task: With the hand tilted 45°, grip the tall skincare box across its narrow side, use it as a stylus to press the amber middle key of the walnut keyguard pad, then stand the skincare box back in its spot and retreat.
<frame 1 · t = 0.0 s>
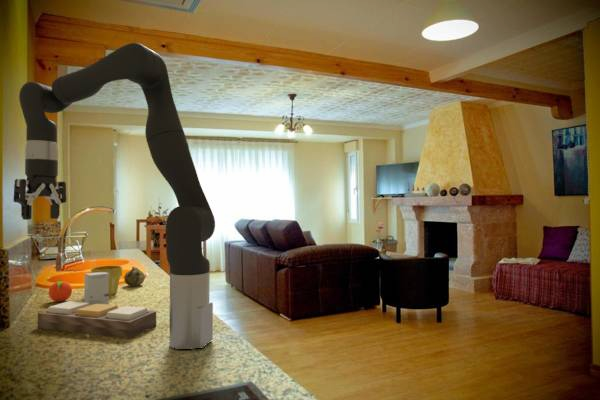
hand: (41, 219, 113), 29 cm above the countertop, tool pointing down, fingers open, 8 cm apart
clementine: (60, 302, 142), on the countertop
key amber: (97, 310, 114), point 4 cm above the countertop, slide at 0.0 cm
skincare box: (96, 313, 128), on the countertop
key outer: (69, 308, 116), point 4 cm above the countertop, slide at 0.0 cm
keypad: (97, 326, 114), on the countertop
key inner: (127, 313, 111), point 4 cm above the countertop, slide at 0.0 cm
onion: (134, 286, 170), on the countertop
plant pot: (106, 294, 155), on the countertop
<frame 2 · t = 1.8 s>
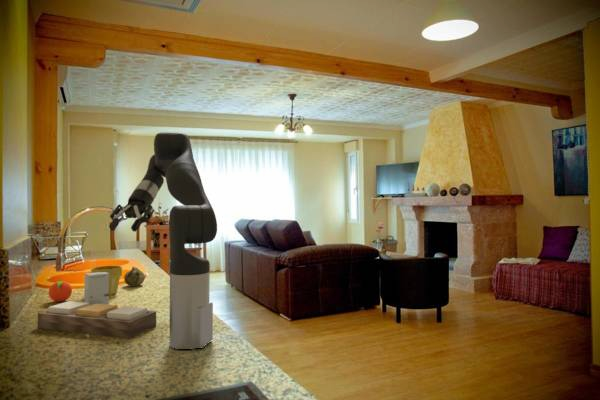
hand: (122, 229, 140), 25 cm above the countertop, tool tilted 45°, fingers open, 8 cm apart
nothing on the countertop moved.
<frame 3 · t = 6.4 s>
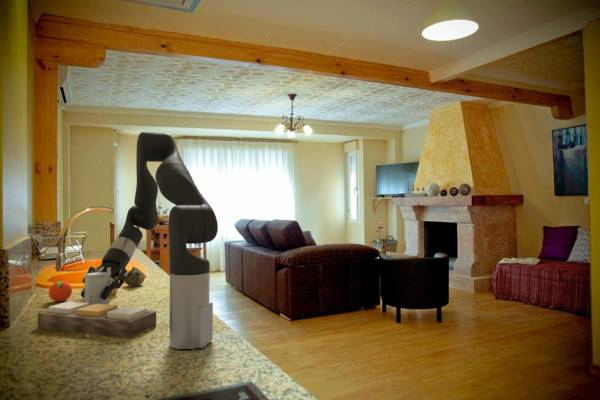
hand: (92, 297, 127), 5 cm above the countertop, tool tilted 45°, fingers closed on skincare box, 6 cm apart
skincare box: (96, 313, 128), on the countertop, touching gripper
everything else where it was.
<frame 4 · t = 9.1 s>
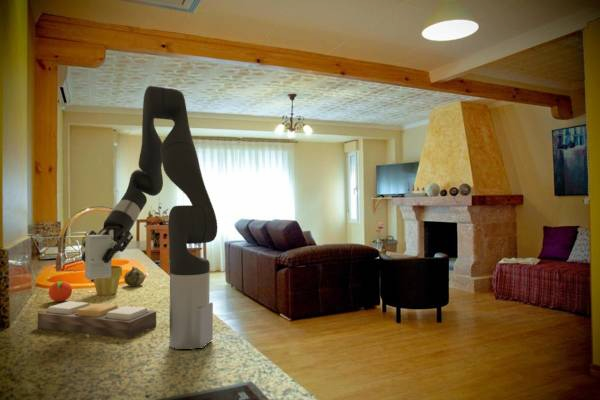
hand: (94, 260, 117), 17 cm above the countertop, tool tilted 45°, fingers closed on skincare box, 6 cm apart
skincare box: (98, 278, 119), point 12 cm above the countertop, touching gripper
everything else where it was.
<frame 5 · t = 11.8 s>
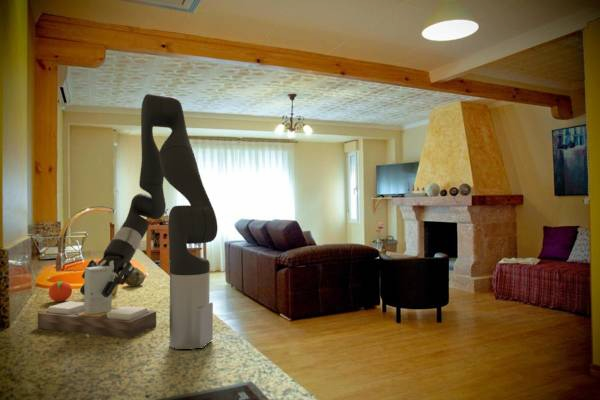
hand: (93, 294, 113), 9 cm above the countertop, tool tilted 45°, fingers closed on skincare box, 6 cm apart
key amber: (97, 315, 114), point 3 cm above the countertop, slide at 1.2 cm, touching skincare box
skincare box: (98, 312, 114), point 4 cm above the countertop, touching gripper, key amber
everything else where it was.
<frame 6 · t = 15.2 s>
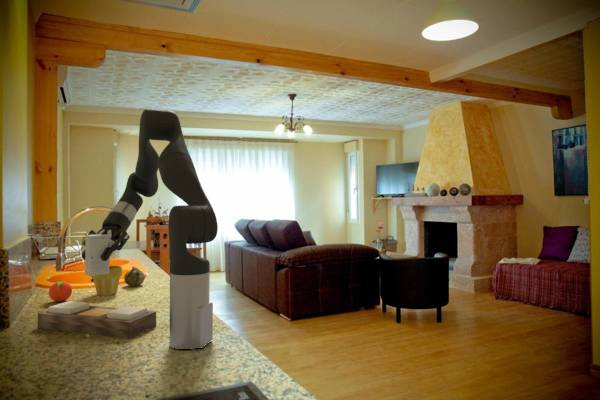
hand: (93, 258, 127), 17 cm above the countertop, tool tilted 45°, fingers closed on skincare box, 6 cm apart
key amber: (97, 315, 114), point 3 cm above the countertop, slide at 1.2 cm
skincare box: (97, 274, 129), point 12 cm above the countertop, touching gripper
everything else where it was.
when the fingers open (6 cm above the countertop, at t = 18.0 s): skincare box stays where it is, on the countertop.
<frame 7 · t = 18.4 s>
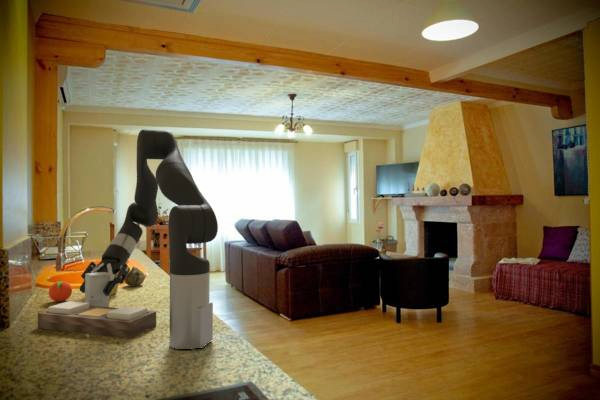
hand: (93, 292, 127), 6 cm above the countertop, tool tilted 45°, fingers open, 8 cm apart
skincare box: (97, 313, 129), on the countertop
everything else where it was.
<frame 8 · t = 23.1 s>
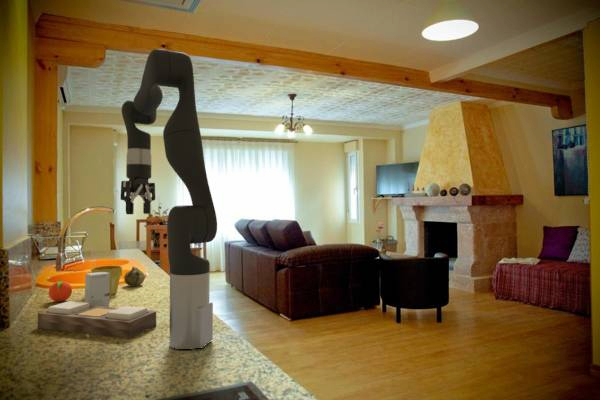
hand: (138, 214, 135), 30 cm above the countertop, tool pointing down, fingers open, 8 cm apart
nothing on the countertop moved.
at the end: key amber slide at 1.2 cm; key outer slide at 0.0 cm; skincare box tilted 0° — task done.
